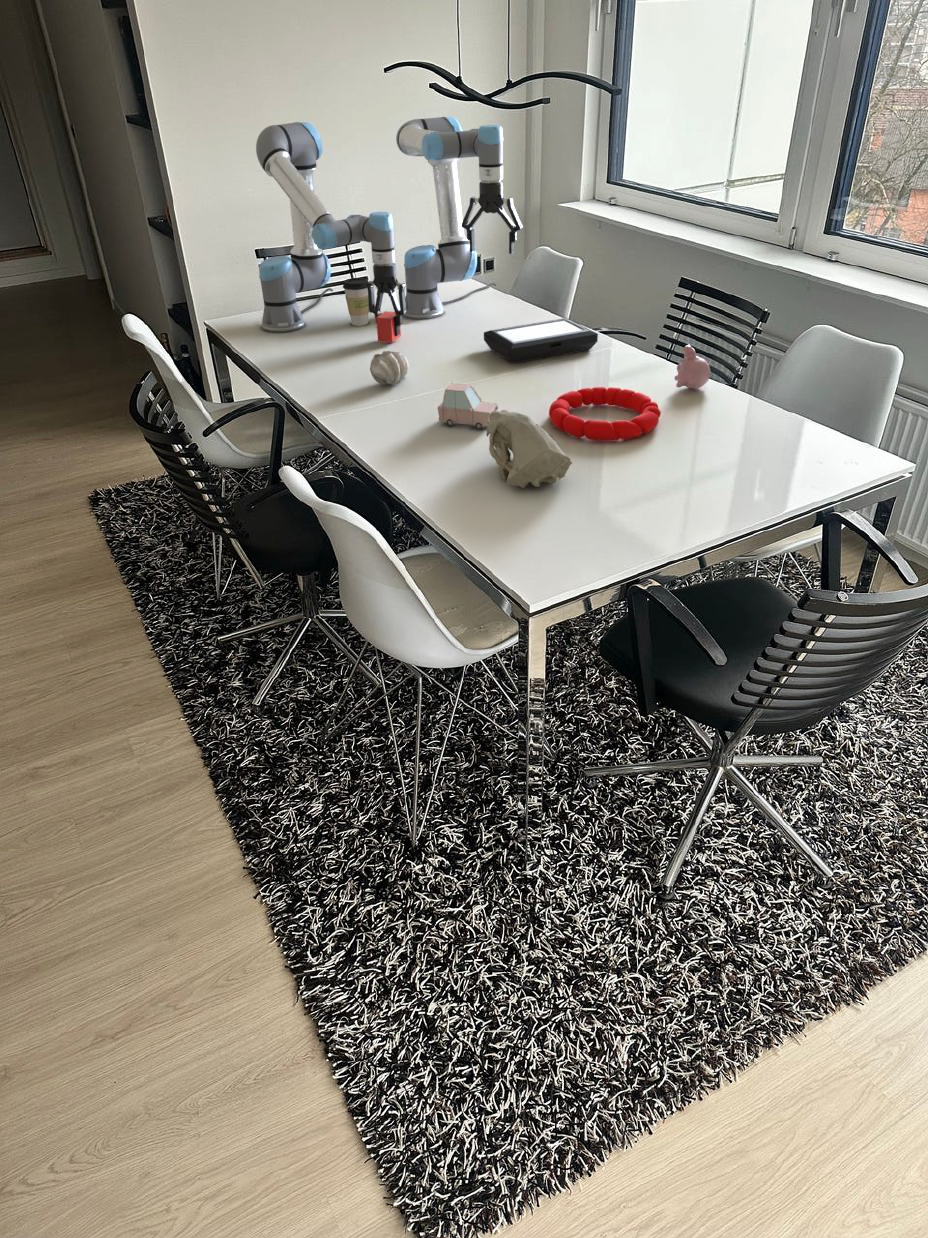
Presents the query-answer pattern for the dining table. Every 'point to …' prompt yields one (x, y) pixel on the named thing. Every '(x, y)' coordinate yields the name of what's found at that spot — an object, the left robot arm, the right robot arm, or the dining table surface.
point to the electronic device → (540, 340)
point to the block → (386, 327)
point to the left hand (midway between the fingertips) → (389, 333)
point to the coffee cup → (357, 300)
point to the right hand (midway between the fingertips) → (491, 251)
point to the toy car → (465, 406)
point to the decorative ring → (604, 428)
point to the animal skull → (525, 450)
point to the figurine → (692, 370)
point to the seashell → (389, 367)
